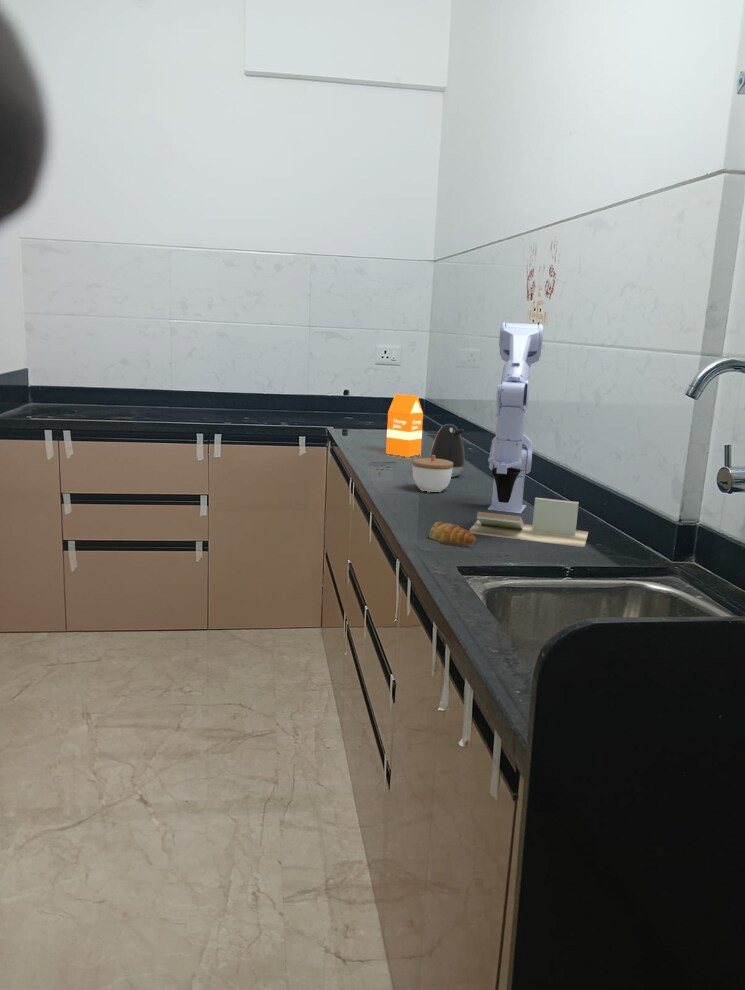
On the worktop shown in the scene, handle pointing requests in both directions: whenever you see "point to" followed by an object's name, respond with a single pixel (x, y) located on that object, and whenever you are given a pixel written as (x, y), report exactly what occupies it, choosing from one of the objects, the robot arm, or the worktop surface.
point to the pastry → (451, 534)
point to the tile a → (500, 520)
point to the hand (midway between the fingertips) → (503, 501)
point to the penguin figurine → (449, 447)
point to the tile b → (555, 516)
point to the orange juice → (404, 426)
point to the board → (530, 534)
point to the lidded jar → (432, 473)
